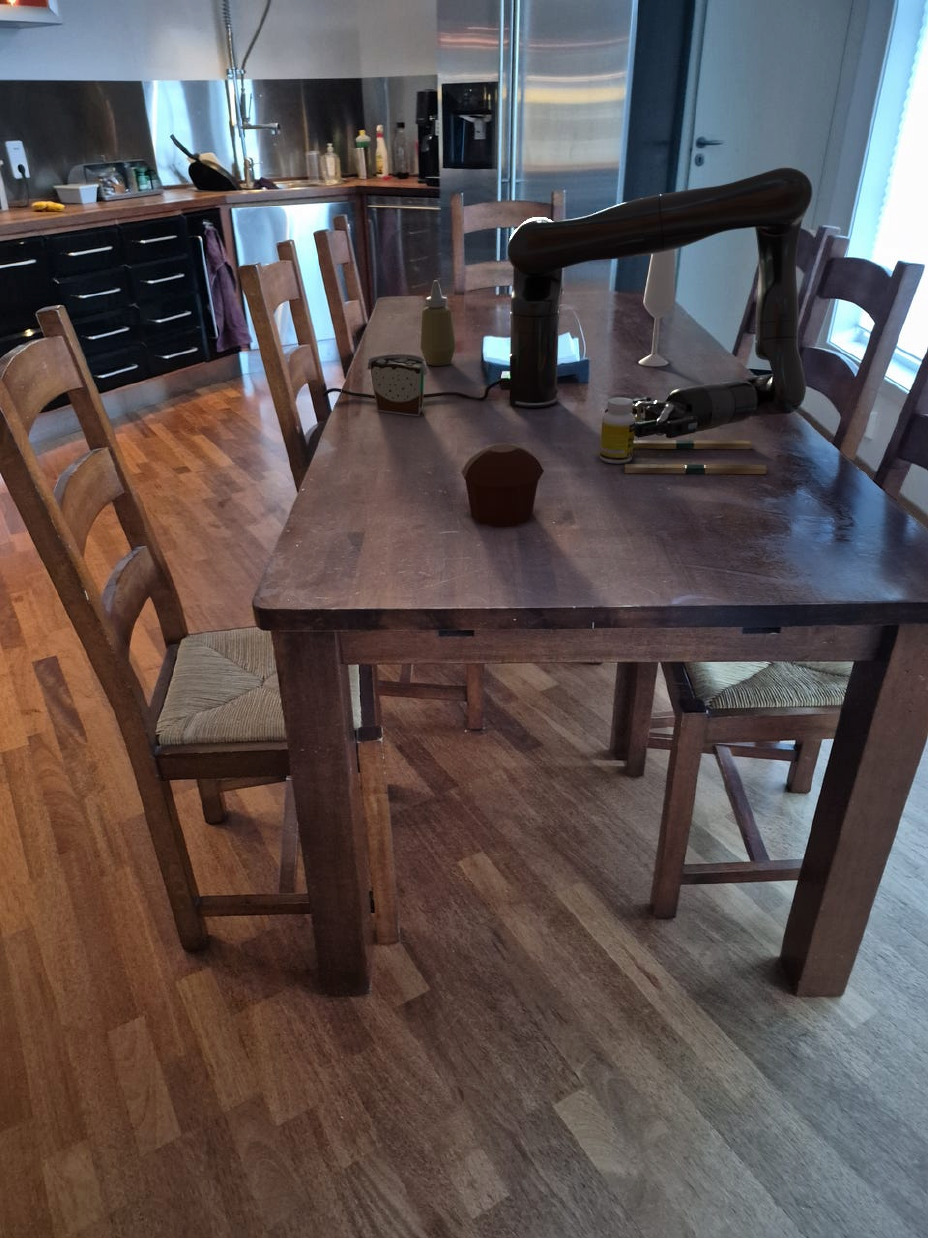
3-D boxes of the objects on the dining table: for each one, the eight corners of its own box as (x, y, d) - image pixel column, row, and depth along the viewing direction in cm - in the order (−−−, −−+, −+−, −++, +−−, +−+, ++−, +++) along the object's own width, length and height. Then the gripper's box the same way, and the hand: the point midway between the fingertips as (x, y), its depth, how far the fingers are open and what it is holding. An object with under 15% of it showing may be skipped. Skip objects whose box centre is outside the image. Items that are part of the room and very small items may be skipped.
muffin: (481, 536, 119) (480, 467, 114) (450, 507, 128) (447, 442, 123) (556, 520, 123) (559, 453, 118) (521, 493, 132) (522, 430, 127)
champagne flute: (656, 367, 192) (666, 251, 179) (632, 362, 196) (641, 248, 184) (674, 362, 195) (686, 247, 183) (650, 357, 200) (660, 245, 188)
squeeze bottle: (461, 359, 202) (459, 278, 192) (449, 368, 195) (446, 284, 186) (428, 357, 204) (425, 276, 195) (416, 366, 197) (411, 283, 188)
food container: (440, 408, 170) (438, 356, 165) (426, 417, 165) (423, 364, 160) (385, 401, 175) (382, 351, 169) (370, 410, 170) (366, 358, 165)
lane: (625, 473, 138) (625, 467, 138) (618, 445, 149) (619, 440, 149) (765, 474, 136) (766, 468, 136) (748, 446, 148) (749, 440, 147)
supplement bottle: (631, 465, 141) (636, 406, 136) (598, 463, 142) (601, 405, 137) (632, 454, 146) (637, 396, 140) (600, 452, 146) (604, 395, 141)
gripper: (676, 376, 150) (597, 389, 144) (731, 396, 139) (648, 412, 133) (671, 418, 154) (594, 433, 148) (725, 441, 143) (644, 458, 137)
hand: (620, 423), depth 141 cm, fingers open, 8 cm apart
